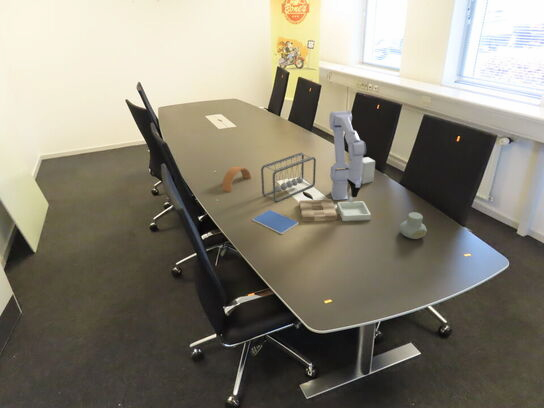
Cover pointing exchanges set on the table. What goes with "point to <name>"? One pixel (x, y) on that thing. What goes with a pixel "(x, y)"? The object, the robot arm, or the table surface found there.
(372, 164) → the supplement box
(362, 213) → the tray
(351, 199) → the pin
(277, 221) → the tablet computer
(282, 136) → the table surface
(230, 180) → the arch
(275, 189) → the newton's cradle
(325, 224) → the table surface
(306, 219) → the pin plate
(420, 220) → the air freshener
